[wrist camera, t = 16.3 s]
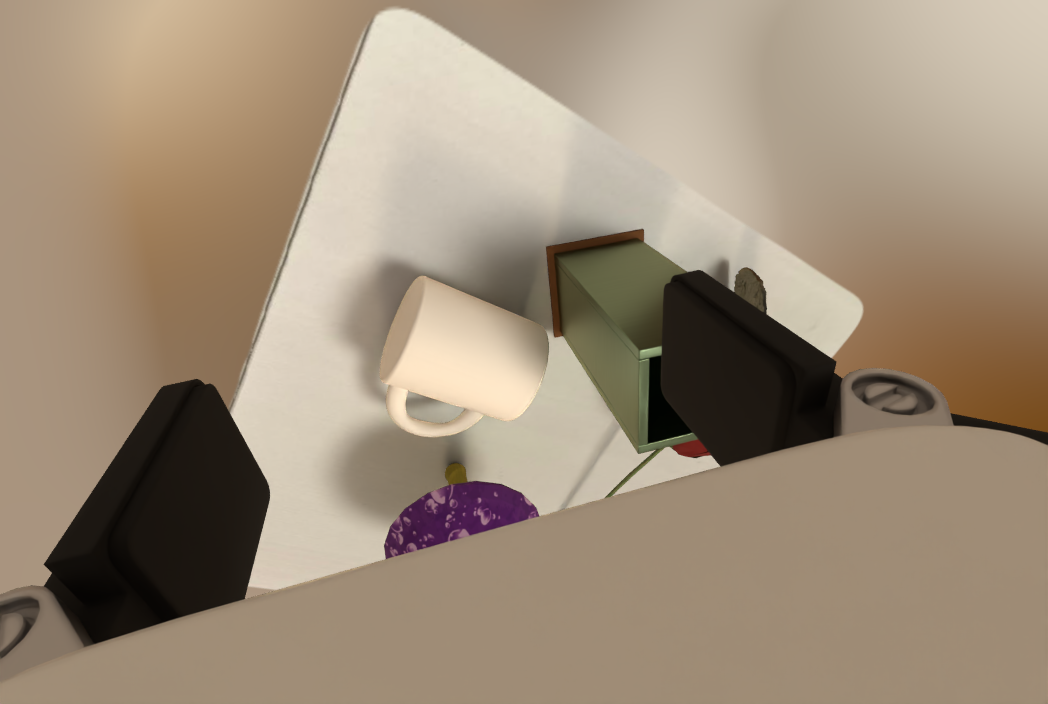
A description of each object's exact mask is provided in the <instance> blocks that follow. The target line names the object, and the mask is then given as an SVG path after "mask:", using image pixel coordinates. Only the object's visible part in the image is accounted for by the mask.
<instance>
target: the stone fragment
mask: <svg viewBox="0 0 1048 704" xmlns="http://www.w3.org/2000/svg"><path fill="white" fill-rule="evenodd" d="M734 290H735V292H734V293H736V294H737V295H739V296H740V297H741V298H743V299H744V300H746V301H747V302H749V303H750V304H752V305H753V306H755V307H756V308H758V309H759V310H761V311H762V312H764V313H765V314H766V310H767V306H766V291H765V288H764V286H763V281H762V280H761V279H760V277H759V276H758V275H756V273H755V272H754V271H753V270H751V269H749V268H743V269H741V270H740V271H739V274H737V275H736V281H735V287H734Z"/></svg>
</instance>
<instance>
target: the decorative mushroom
mask: <svg viewBox="0 0 1048 704" xmlns="http://www.w3.org/2000/svg"><path fill="white" fill-rule="evenodd" d="M445 478H446V479H447V481H448V484H449V485H448V486H445V487H443V488H440V489H437V490H435V491H432V492H429V493H427V494H426V495H424V496H423V497H421V498H420V499H418V500H417V501H415V502H414V503H413V504H411V505H410V506H408V507H407V508H405V509H404V511H403V512H402V513H401V514H400V515H399V517H398V518H397V519H396V520H395V522H394V523H393V524H392V525H391V526H390V529H389V532H388V535H387V538H386V541H385V544H384V548H385V556H386V559H388V558H392V557H396V556H399V555H403V554H406V553H410V552H413V551H417V550H420V549H424V548H428V547H431V546H435V545H438V544H442V543H445V542H449V541H453V540H456V539H460V538H463V537H467V536H471V535H474V534H478V533H481V532H485V531H488V530H492V529H496V528H499V527H503V526H506V525H510V524H514V523H517V522H521V521H524V520H528V519H532V518H535V517H539V514H538V512H537V509H536V507H535V506H534V505H533V504H532V503H531V502H530V501H529V500H528V499H527V498H526V497H525V496H524V495H523V494H522V493H520V492H518V491H516V490H513V489H511V488H509V487H507V486H504V485H502V484H497V483H488V482H480V481H473V482H467V477H466V469H465V467H464V466H463V465H461V464H459V463H453V464H451V465H449V466H448V467H447V468H446V471H445Z"/></svg>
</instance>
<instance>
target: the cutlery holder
mask: <svg viewBox="0 0 1048 704" xmlns="http://www.w3.org/2000/svg"><path fill="white" fill-rule="evenodd" d="M554 259H555V271H556V283H557V296H558V308H559V320H560V332H561V333H562V335H563V337H564V338H565V340H566V341H567V343H568V345H569V346H570V348H571V349H572V351H573V352H574V354H575V356H576V357H577V359H578V360H579V362H580V363H581V365H582V366H583V368H584V370H585V371H586V373H587V374H588V376H589V377H590V379H591V381H592V382H593V384H594V385H595V387H596V388H597V390H598V392H599V393H600V395H601V396H602V398H603V399H604V401H605V402H606V404H607V406H608V407H609V409H610V410H611V412H612V413H613V415H614V417H615V418H616V420H617V421H618V423H619V424H620V426H621V428H622V429H623V431H624V432H625V434H626V435H627V437H628V439H629V440H630V442H631V443H632V445H633V446H634V448H635V449H636V451H637V453H638V454H641V453H645V452H649V451H653V450H657V449H661V448H665V447H669V446H673V445H677V444H681V443H685V442H689V441H693V440H697V439H698V438H697V437H696V436H695V435H694V433H693V432H692V431H691V430H690V429H689V427H688V426H687V425H686V424H685V422H684V421H683V420H682V419H681V418H680V416H679V415H678V414H677V413H676V412H675V410H674V409H673V408H672V407H671V405H670V404H669V403H668V402H667V401H666V399H665V398H664V396H663V393H662V390H661V355H662V324H663V293H664V287H665V285H666V284H667V283H670V281H671V278H672V277H673V276H674V275H678V274H682V273H687V271H685V270H684V269H682V268H681V267H679V266H678V265H676V264H675V263H674V262H672V261H671V260H669V259H668V258H666V257H665V256H663V255H662V254H660V253H659V252H657V251H656V250H655V249H653V248H652V247H650V246H649V245H647V244H646V243H644V242H643V241H641V240H640V239H638V238H636V239H631V240H625V241H620V242H615V243H609V244H604V245H598V246H593V247H588V248H582V249H577V250H571V251H566V252H560V253H555V254H554Z"/></svg>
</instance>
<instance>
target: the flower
mask: <svg viewBox="0 0 1048 704" xmlns="http://www.w3.org/2000/svg"><path fill="white" fill-rule="evenodd" d="M669 447H671V448H672V449H673V450H675V451H676V452H677V453H678V454H679V455H683V456H686V457H692V458H698V457H701V456H708V455H711V454H710V453H709V452H708V450H707V449H706V448H705V447H704V446H703V444H702V443H701V442H700V441H699V440H698V439H697V440H693V441H689V442H685V443H681V444H677V445H673V446H669ZM663 449H664V448H661V449H657V450H655V451H654V452H653V453H652V454H651V455H650V456H649V457H648V458H646V459H645V460H644V461H643V462H642V463H641V464H640V465H638V466H637V467H636V468H635V469H634V470H633V471H632V472H631V473H629V474H628V475H627V476H626V477H625V478H624V479H623V480H622V481H621V482H620V483H619V484H618V485H617V486H616V487H615V488H614V489H613V490H612V491H611V492H610V493H609V494H608V495H607V496H606V497H605V498H608V497H611V496H612V495H613V494H614V493H615V492H616V491H617V490H618V489H619V488H620V487H622V486H623V485H624V484H625V483H626V482H627V481H628V480H629V479H630V478H631V477H632V476H633V475H634V474H636V473H637V472H638V471H639V470H640V469H641V468H642V467H643V466H645V465H646V464H647V463H648V462H649V461H650V460H651V459H653V458H654V457H655V456H656V455H657V454H658V453H659V452H660V451H662V450H663Z"/></svg>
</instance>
